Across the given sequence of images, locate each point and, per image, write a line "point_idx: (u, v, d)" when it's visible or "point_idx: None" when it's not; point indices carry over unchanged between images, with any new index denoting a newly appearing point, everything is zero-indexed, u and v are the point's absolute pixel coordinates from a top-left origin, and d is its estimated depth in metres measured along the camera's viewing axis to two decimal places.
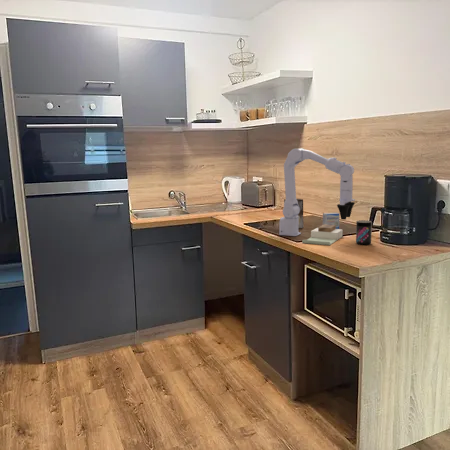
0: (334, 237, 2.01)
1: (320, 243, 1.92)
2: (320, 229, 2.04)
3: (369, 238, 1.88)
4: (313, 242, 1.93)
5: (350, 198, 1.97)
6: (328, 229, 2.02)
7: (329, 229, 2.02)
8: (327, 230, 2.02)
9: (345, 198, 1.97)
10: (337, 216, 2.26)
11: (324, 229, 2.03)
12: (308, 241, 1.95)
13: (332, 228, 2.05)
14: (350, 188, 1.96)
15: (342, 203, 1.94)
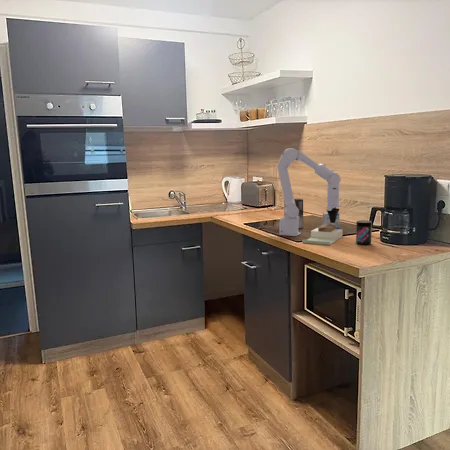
0: (334, 237, 2.01)
1: (320, 243, 1.92)
2: (320, 229, 2.04)
3: (369, 238, 1.88)
4: (313, 242, 1.93)
5: (337, 204, 2.11)
6: (328, 229, 2.02)
7: (329, 229, 2.02)
8: (327, 230, 2.02)
9: (332, 204, 2.11)
10: (337, 216, 2.26)
11: (324, 229, 2.03)
12: (308, 241, 1.95)
13: (332, 228, 2.05)
14: (338, 194, 2.11)
15: (329, 209, 2.08)
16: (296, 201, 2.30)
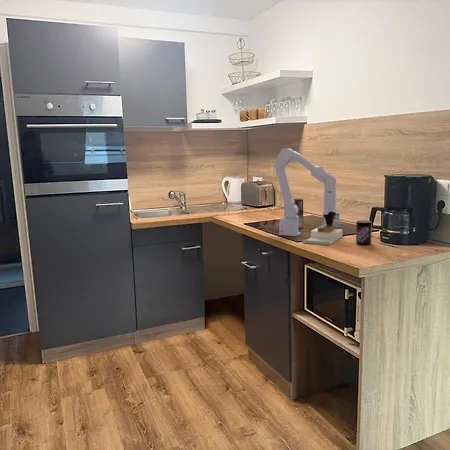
0: (334, 237, 2.01)
1: (320, 243, 1.92)
2: (320, 229, 2.03)
3: (369, 238, 1.88)
4: (313, 242, 1.93)
5: (333, 208, 2.06)
6: (327, 230, 2.01)
7: (328, 230, 2.01)
8: (326, 231, 2.01)
9: (328, 208, 2.06)
10: (337, 216, 2.26)
11: (323, 230, 2.02)
12: (308, 241, 1.95)
13: (331, 228, 2.04)
14: (334, 198, 2.06)
15: (325, 213, 2.03)
16: (296, 201, 2.30)
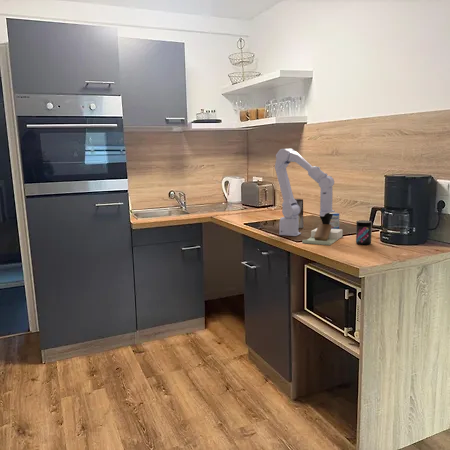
0: (334, 237, 2.01)
1: (320, 243, 1.92)
2: (317, 238, 1.99)
3: (369, 238, 1.88)
4: (313, 242, 1.93)
5: (330, 209, 2.01)
6: (324, 238, 1.97)
7: (325, 238, 1.97)
8: (323, 239, 1.98)
9: (325, 209, 2.01)
10: (337, 216, 2.26)
11: (320, 238, 1.98)
12: (308, 241, 1.95)
13: (328, 233, 1.99)
14: (329, 200, 2.00)
15: (322, 214, 1.98)
16: None
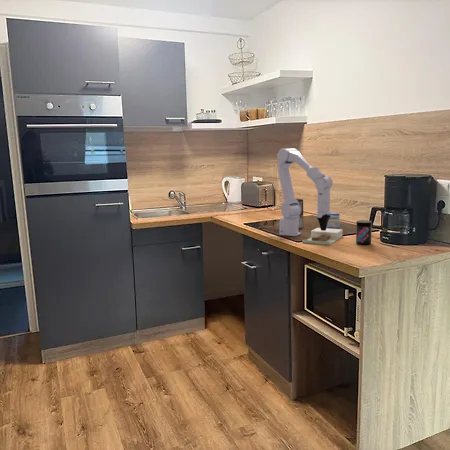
0: (334, 237, 2.01)
1: (320, 243, 1.92)
2: (314, 239, 1.96)
3: (369, 238, 1.88)
4: (313, 242, 1.93)
5: (327, 210, 1.98)
6: (322, 239, 1.94)
7: (323, 239, 1.94)
8: (321, 240, 1.95)
9: (322, 210, 1.98)
10: (337, 216, 2.26)
11: (318, 239, 1.95)
12: (308, 241, 1.95)
13: (326, 238, 1.97)
14: (326, 201, 1.97)
15: (319, 216, 1.94)
16: None
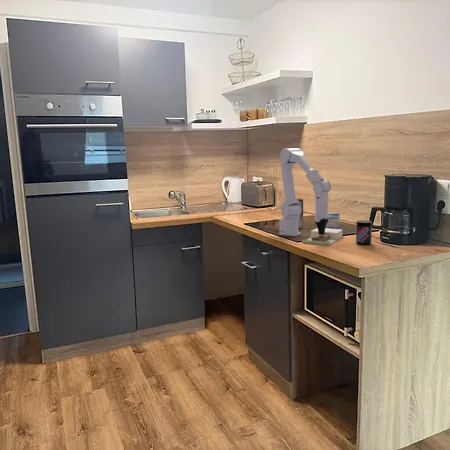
0: (334, 237, 2.01)
1: (320, 243, 1.92)
2: (314, 239, 1.96)
3: (369, 238, 1.88)
4: (313, 242, 1.93)
5: (325, 214, 1.96)
6: (322, 239, 1.94)
7: (323, 239, 1.94)
8: (321, 240, 1.95)
9: (320, 215, 1.95)
10: (337, 216, 2.26)
11: (318, 239, 1.95)
12: (308, 241, 1.95)
13: (326, 238, 1.97)
14: (323, 205, 1.94)
15: (317, 220, 1.92)
16: None
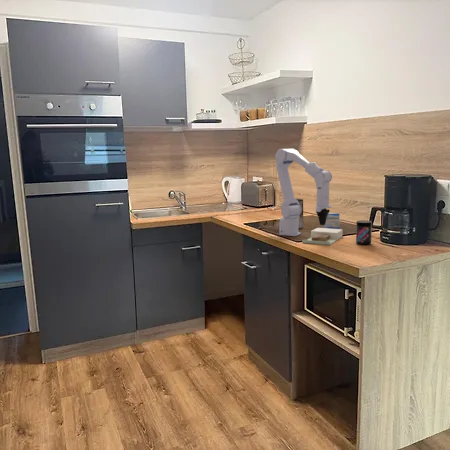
0: (334, 237, 2.01)
1: (320, 243, 1.92)
2: (314, 239, 1.96)
3: (369, 238, 1.88)
4: (313, 242, 1.93)
5: (326, 205, 1.96)
6: (322, 239, 1.94)
7: (323, 239, 1.94)
8: (321, 240, 1.95)
9: (321, 205, 1.96)
10: (337, 216, 2.26)
11: (318, 239, 1.95)
12: (308, 241, 1.95)
13: (326, 238, 1.97)
14: (324, 195, 1.95)
15: (318, 210, 1.93)
16: None
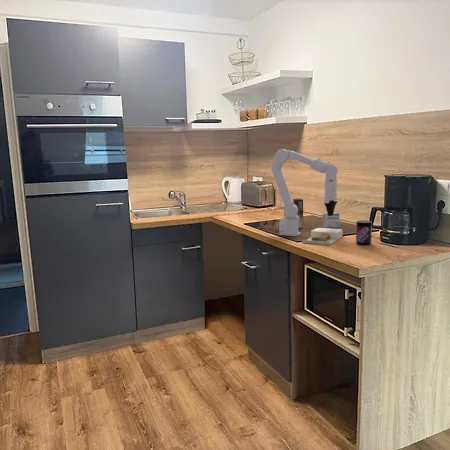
0: (334, 237, 2.01)
1: (320, 243, 1.92)
2: (314, 239, 1.96)
3: (369, 238, 1.88)
4: (313, 242, 1.93)
5: (334, 196, 2.07)
6: (322, 239, 1.94)
7: (323, 239, 1.94)
8: (321, 240, 1.95)
9: (329, 196, 2.06)
10: (337, 216, 2.26)
11: (318, 239, 1.95)
12: (308, 241, 1.95)
13: (326, 238, 1.97)
14: (335, 187, 2.06)
15: (326, 201, 2.03)
16: (296, 201, 2.30)
